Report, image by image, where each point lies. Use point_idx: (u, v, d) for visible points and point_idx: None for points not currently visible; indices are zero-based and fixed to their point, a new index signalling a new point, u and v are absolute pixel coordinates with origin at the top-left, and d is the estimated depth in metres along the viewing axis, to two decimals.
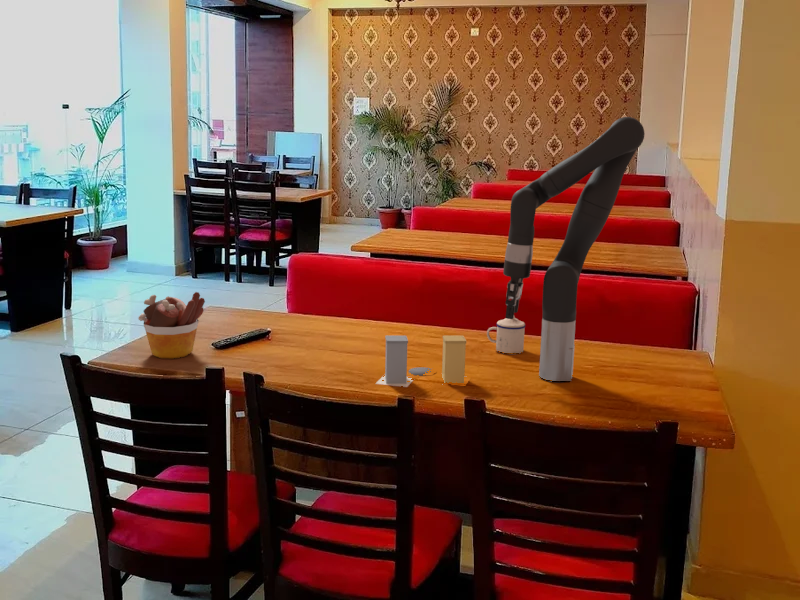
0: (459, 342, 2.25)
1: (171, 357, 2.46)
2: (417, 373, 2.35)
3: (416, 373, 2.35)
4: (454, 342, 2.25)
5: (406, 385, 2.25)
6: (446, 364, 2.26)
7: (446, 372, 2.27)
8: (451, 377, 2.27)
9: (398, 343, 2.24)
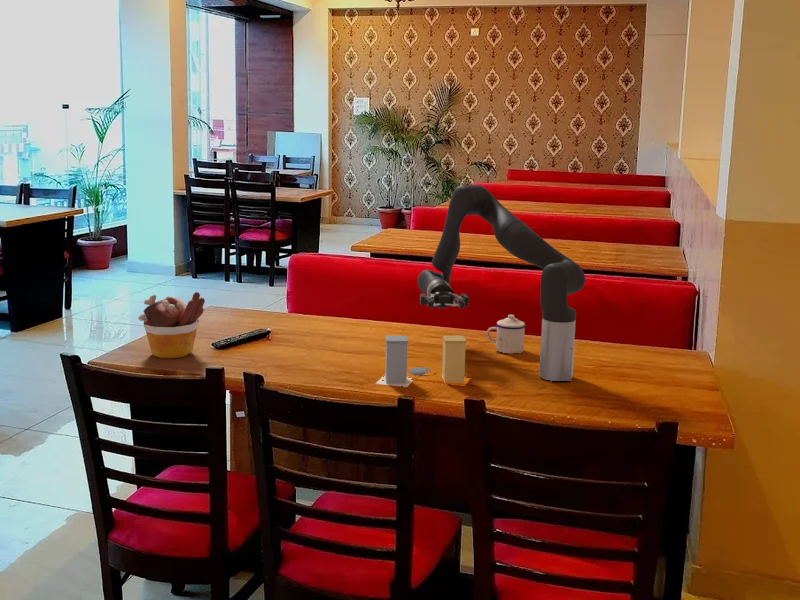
0: (459, 342, 2.25)
1: (171, 357, 2.46)
2: (417, 373, 2.35)
3: (416, 373, 2.35)
4: (454, 342, 2.25)
5: (406, 385, 2.25)
6: (446, 364, 2.26)
7: (446, 372, 2.27)
8: (451, 377, 2.27)
9: (398, 343, 2.24)
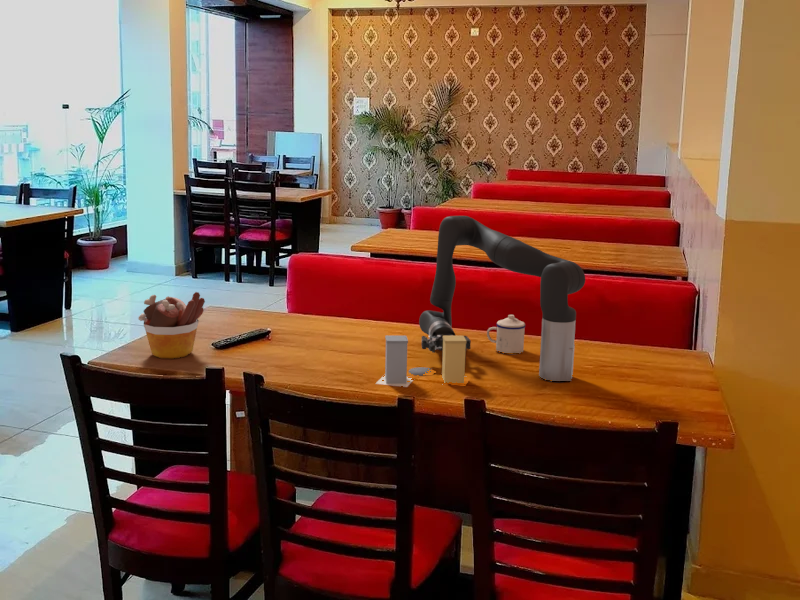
0: (459, 342, 2.25)
1: (171, 357, 2.46)
2: (417, 373, 2.35)
3: (416, 373, 2.35)
4: (454, 342, 2.25)
5: (406, 385, 2.25)
6: (446, 364, 2.26)
7: (446, 372, 2.27)
8: (451, 377, 2.27)
9: (398, 343, 2.24)
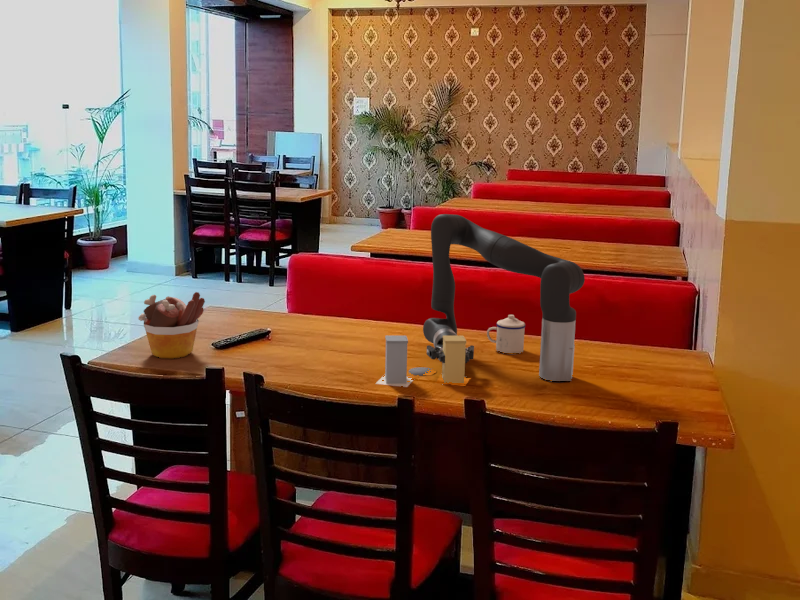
0: (459, 342, 2.25)
1: (171, 357, 2.46)
2: (417, 373, 2.35)
3: (416, 373, 2.35)
4: (454, 342, 2.25)
5: (406, 385, 2.25)
6: (446, 364, 2.26)
7: (446, 372, 2.27)
8: (451, 377, 2.27)
9: (398, 343, 2.24)
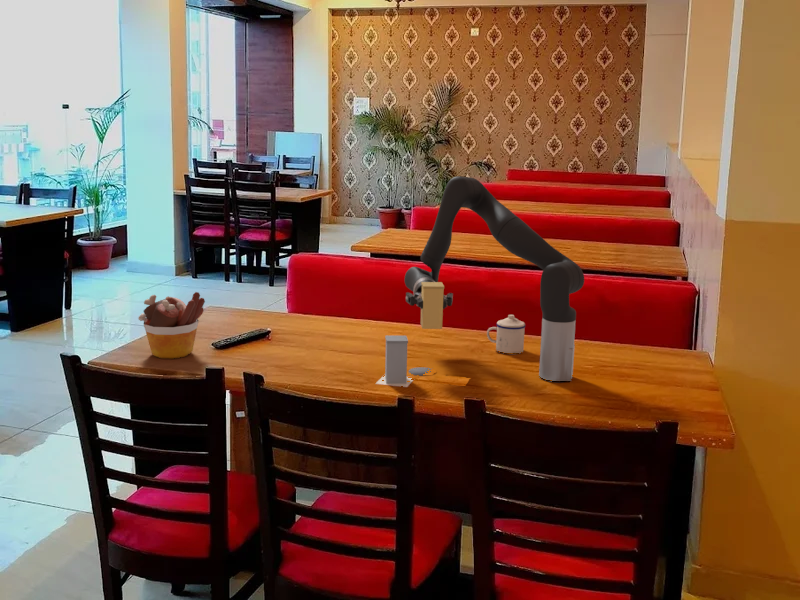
0: (437, 288, 2.28)
1: (171, 357, 2.46)
2: (417, 373, 2.35)
3: (416, 373, 2.35)
4: (432, 288, 2.27)
5: (406, 385, 2.25)
6: (424, 309, 2.29)
7: (424, 317, 2.29)
8: (429, 322, 2.30)
9: (398, 343, 2.24)
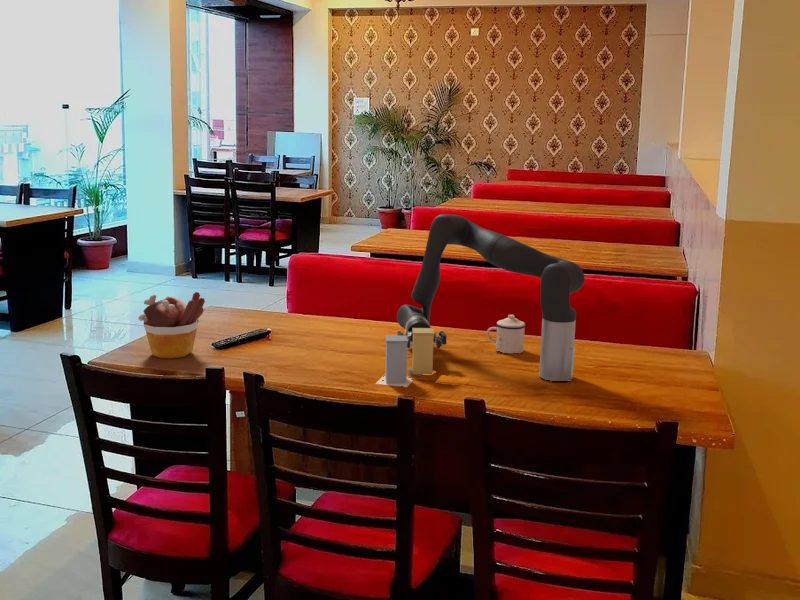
0: (427, 334, 2.32)
1: (171, 357, 2.46)
2: None
3: None
4: (422, 334, 2.32)
5: (406, 385, 2.25)
6: (415, 355, 2.34)
7: (415, 363, 2.34)
8: (419, 368, 2.34)
9: (398, 343, 2.24)
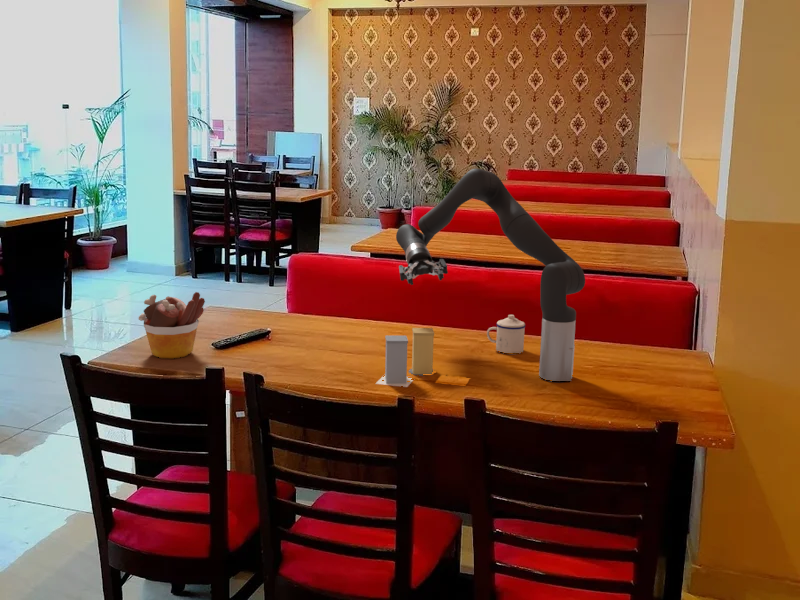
0: (427, 334, 2.32)
1: (171, 357, 2.46)
2: None
3: None
4: (422, 334, 2.32)
5: (406, 385, 2.25)
6: (415, 355, 2.34)
7: (415, 363, 2.34)
8: (419, 368, 2.34)
9: (398, 343, 2.24)
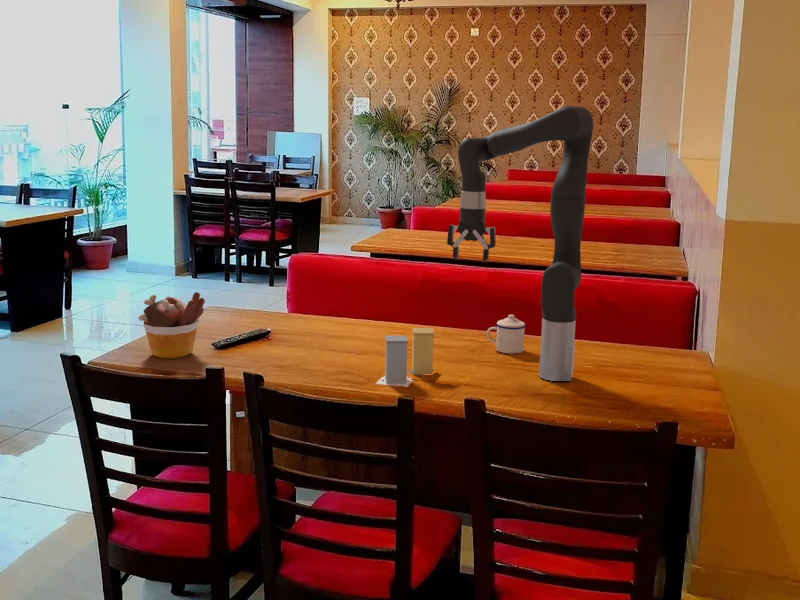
0: (427, 334, 2.32)
1: (171, 357, 2.46)
2: None
3: None
4: (422, 334, 2.32)
5: (406, 385, 2.25)
6: (415, 355, 2.34)
7: (415, 363, 2.34)
8: (419, 368, 2.34)
9: (398, 343, 2.24)
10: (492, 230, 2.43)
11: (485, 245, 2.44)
